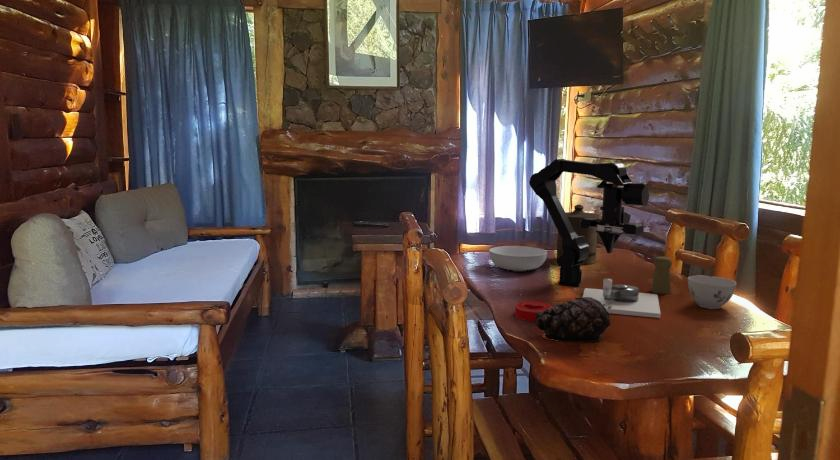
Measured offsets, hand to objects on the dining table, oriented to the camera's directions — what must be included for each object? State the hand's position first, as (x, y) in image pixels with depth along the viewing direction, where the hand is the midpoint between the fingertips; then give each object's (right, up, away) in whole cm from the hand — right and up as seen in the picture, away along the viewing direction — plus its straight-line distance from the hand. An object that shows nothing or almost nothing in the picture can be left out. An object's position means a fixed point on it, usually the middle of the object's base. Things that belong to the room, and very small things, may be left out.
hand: (609, 253), depth 188 cm
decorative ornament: (-28, -16, -25) cm, 41 cm away
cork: (+17, -12, +2) cm, 21 cm away
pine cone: (-22, -19, -42) cm, 51 cm away
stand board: (-1, -14, -13) cm, 19 cm away
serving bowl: (-24, -7, +32) cm, 40 cm away
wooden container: (+2, -5, +46) cm, 47 cm away
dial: (-2, -13, -14) cm, 19 cm away
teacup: (+24, -15, -13) cm, 31 cm away
